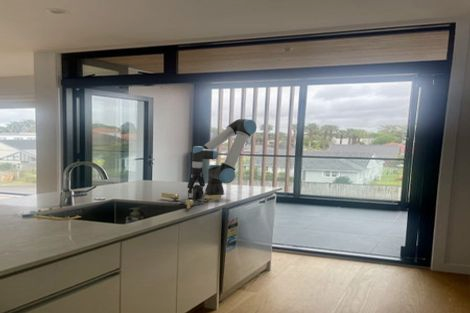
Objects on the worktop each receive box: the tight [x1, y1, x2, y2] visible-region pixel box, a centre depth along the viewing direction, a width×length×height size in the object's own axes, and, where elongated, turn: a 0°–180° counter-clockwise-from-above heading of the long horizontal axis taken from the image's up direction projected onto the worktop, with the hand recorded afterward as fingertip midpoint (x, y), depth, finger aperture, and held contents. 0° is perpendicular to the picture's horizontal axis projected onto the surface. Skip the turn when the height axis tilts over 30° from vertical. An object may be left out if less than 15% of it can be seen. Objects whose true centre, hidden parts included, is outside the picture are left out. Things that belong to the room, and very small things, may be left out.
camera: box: [187, 183, 205, 200], centre depth 263 cm, size 13×10×10 cm
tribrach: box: [174, 194, 223, 209], centre depth 244 cm, size 42×27×4 cm, turn 154°
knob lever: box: [161, 192, 180, 200], centre depth 252 cm, size 14×5×4 cm, turn 64°
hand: (195, 196), depth 263 cm, fingers closed on camera, 13 cm apart
